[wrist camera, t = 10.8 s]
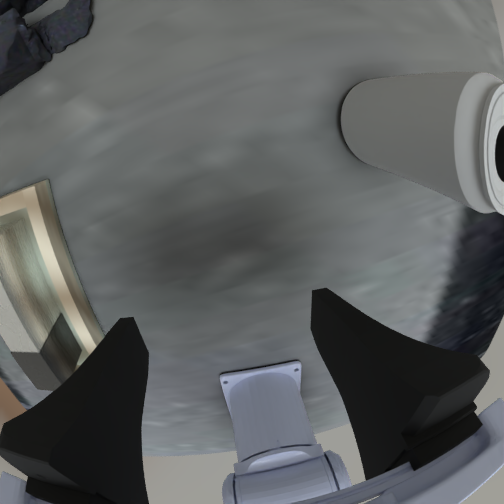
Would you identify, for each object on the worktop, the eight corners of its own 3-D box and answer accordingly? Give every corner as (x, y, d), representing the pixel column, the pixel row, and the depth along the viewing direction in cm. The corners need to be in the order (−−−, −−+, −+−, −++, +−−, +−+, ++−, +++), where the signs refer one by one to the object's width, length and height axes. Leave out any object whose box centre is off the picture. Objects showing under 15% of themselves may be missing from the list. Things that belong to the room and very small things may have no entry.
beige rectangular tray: (122, 368, 24) (118, 384, 22) (50, 368, 23) (45, 382, 21) (48, 178, 15) (34, 185, 14) (-26, 208, 14) (-39, 216, 13)
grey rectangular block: (-4, 226, 15) (-40, 254, 11) (24, 217, 16) (-14, 246, 11) (54, 350, 21) (37, 389, 17) (82, 350, 21) (67, 391, 17)
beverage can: (322, 91, 16) (464, 78, 5) (394, 73, 16) (532, 72, 5) (351, 176, 19) (481, 249, 8) (415, 150, 19) (542, 197, 8)
